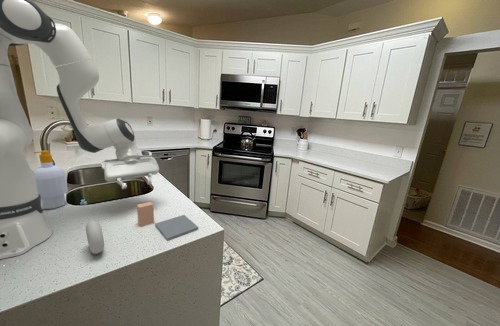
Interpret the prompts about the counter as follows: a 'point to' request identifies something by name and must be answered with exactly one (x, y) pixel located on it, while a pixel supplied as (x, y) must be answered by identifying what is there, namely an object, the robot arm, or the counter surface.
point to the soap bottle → (50, 182)
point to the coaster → (176, 227)
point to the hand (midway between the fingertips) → (137, 185)
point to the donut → (95, 237)
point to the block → (145, 214)
